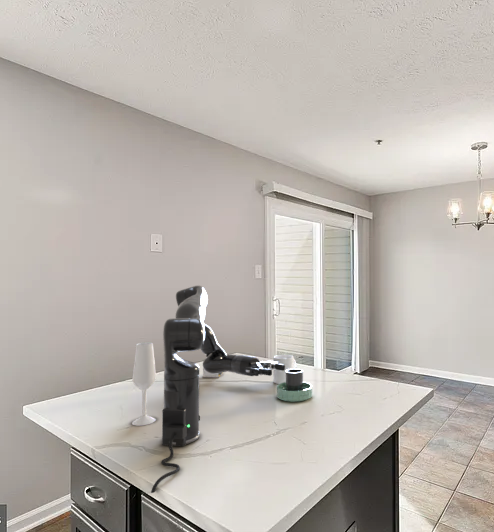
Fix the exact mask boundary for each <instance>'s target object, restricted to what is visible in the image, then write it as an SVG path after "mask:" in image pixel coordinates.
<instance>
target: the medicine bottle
mask: <svg viewBox="0 0 494 532" xmlns="http://www.w3.org/2000/svg"><path fill="white" fill-rule="evenodd" d="M209 355H210V354H205V356H206V357H205V359H206V358H207V357H208V356H209ZM223 374H224V372H223V373H215V374H213V373H209V372H207V371H205V370H204V368H203V367H202V378H220V377H221V376H222V375H223Z"/></svg>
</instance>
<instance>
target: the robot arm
mask: <svg viewBox="0 0 494 532" xmlns="http://www.w3.org/2000/svg"><path fill="white" fill-rule="evenodd" d="M175 300H176V301H175V302H176V305H177V308H176V310H175V317H174V318H168V319H166V320H165V321H164V324H163V329H162V330H163V331H162V341H163V409H162V410H161V411H162V413H161V415H162V417H161V418H162V420H161V421H162V426H161V428H162V429H161V445H162V446H168V448H169V453H170V454H169V456H168V457H166V458H163V459H162V460H161V461H160V463H161V465H162V466H165V467H169V468H175V469H174V470H171V471H169V472H166V473H165V474H163V475H161V476H160V477H159V478H157V480H156V481H155V482H154V484H153V486H152V488H151V491H150V493H151V494H154V493H155V492H156V490H157V487H158V485H159V484H160V483H161V482H162V481H163V480H164V479H167V478H169V477H171V476H173V475H175V474H177V473H179V472H180V469H181V467H180V465H179V464H178V463H173V462H169V461H170V460H171V459H173V457H174V448H173V447H185V446H186V445H189V444H192V443H194V442H195V441H197V440H198V439H199V438H200V421H201V416H200V365H199V364H198V363H196V362H193V361H190V360H186V359H185V358H182V357H181V356H180V355H178V353H186V352H196V351H199V350H200V351H201V353H203V354H204V355H206V354H210V355H209V356H208V357H207V358H206V357H205V359H204V360H203V362H202V369H203V368H204V370H205V371H207V372H209V373H213V374H215V373H223V374H224V373H227V372H229V373H233V374H236V375H242V376H249V377H259V376H263V375H264V376H269V377H271V376H272V375H273V370H282V371H284V370H285V365H283V364H279V362H276V361H273V360H266V361H263V360H262V361H260V360H259V358H258V357H257V356H251V355H244V354H233V353H229V354H227V353H226V351H225V350H224V349H223V348H222V346H221V345H220V344H219V343H218V340H217V337H216V336H215V333H214V331H213V329H212V328H211V327H210V326H209V325H207V324H206V323H205V319H206V313H207V312H206V309H207V307H208V304H209V298H208V293H207V291H206V289H205V288H204V287H203V286H202V285H193V286H190V287H186V288H184V289H180V290H178V291H177V292H176V293H175Z"/></svg>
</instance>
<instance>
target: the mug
mask: <svg viewBox="0 0 494 532" xmlns="http://www.w3.org/2000/svg"><path fill="white" fill-rule="evenodd" d="M272 361H276V362H279V364H283V365H285V370H284V371H282V370H272V375H273V376H272V377H273V379H272V381H273V383H274V384H276V385H278V384H280V383H284V382H286V370H288V369H297V361H296V359H295V356H294V355H293V354H284V353H283V354H276V355H273V360H272Z"/></svg>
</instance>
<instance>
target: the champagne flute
mask: <svg viewBox="0 0 494 532" xmlns="http://www.w3.org/2000/svg"><path fill="white" fill-rule="evenodd" d="M154 349H155V348H154V342H149V341H146V342H138V343H136V344H135V350H134V351H135V352H134V360H133V368H132V369H133V370H132V383H133V385H134V386H135V387H136V388H138V389H139V390H141V415H140V416H138V417H137V418H136V419H135V420H133V421H132V422H131V424H132V425H133V426H137V427H139V426H147V425H150V424H153V423H154V422H156V420H157V419H156V417H153V416H151V415H149V414H147V390H148V389H149V388H150V387H152V385H153V384H154V383H155V382H156V381H157V372H156V361H155V350H154Z"/></svg>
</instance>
